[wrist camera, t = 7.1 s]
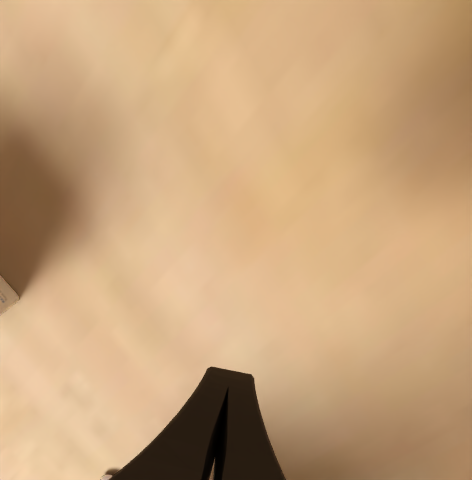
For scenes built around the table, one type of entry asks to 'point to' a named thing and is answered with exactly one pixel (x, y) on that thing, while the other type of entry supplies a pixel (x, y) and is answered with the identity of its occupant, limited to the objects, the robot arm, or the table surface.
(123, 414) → the table surface
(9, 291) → the light bulb box
